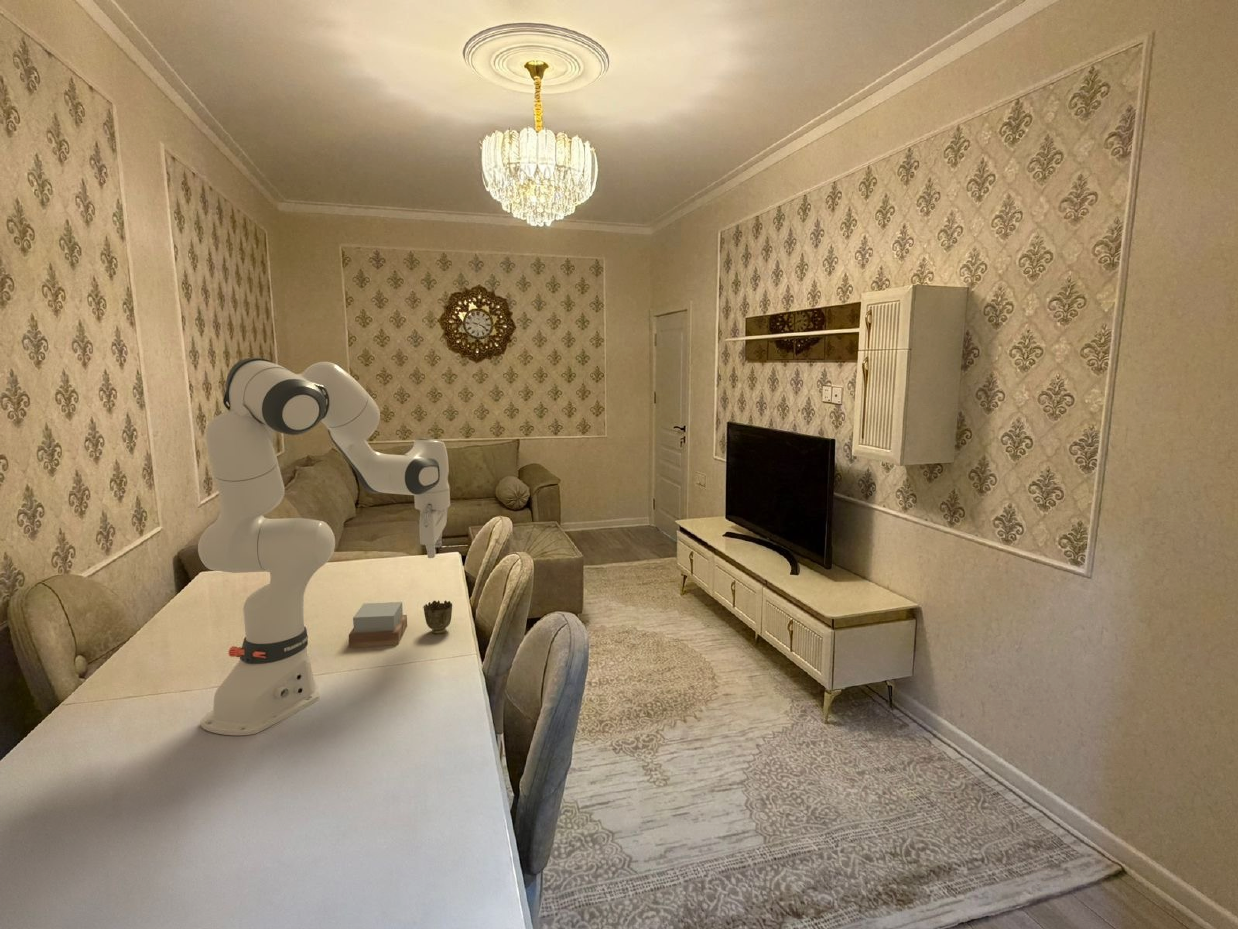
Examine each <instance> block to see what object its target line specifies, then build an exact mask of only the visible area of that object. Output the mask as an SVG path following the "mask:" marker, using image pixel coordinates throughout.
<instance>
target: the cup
mask: <svg viewBox="0 0 1238 929" xmlns="http://www.w3.org/2000/svg"><path fill="white" fill-rule="evenodd" d="M422 608H423V613H424V618H425V624H426V625H427V627H428V628H429V629H431V632H432V634H434V635H442V634H445V633H446V632H447V627H449V625H450V623H451V620H452V613H453V603H452V602H451V601H450V600H449V601H447V600H444V602H441V601H440V600H438V601H437V600H432V602H430V601H429V602H428V604H427V603H424V605H423V607H422Z"/></svg>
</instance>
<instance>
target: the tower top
mask: <svg viewBox="0 0 1238 929" xmlns="http://www.w3.org/2000/svg"><path fill="white" fill-rule="evenodd" d="M403 615H404V611H403V601H395V602H394V601H393V602H390V601H389V602H371V603H369V602H368V603H367V602H366V603H363V604H362V605H361V606H360V607H359V609H357V612H356V613H355V614H354V615H353V617H352V622H353V624H352V625H353V628H354V633H355V632H376V631H395V629H396V627H397V625H398V624H399V622H400V620H401V618H402V617H403Z"/></svg>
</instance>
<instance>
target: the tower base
mask: <svg viewBox="0 0 1238 929" xmlns="http://www.w3.org/2000/svg"><path fill="white" fill-rule="evenodd" d="M407 616H408V614H403V617H402V618H401V620H400V622H399V624H398V625H397V627H396V629H395V631H376V632H355V633H354V627H353V628H352V629H351V631H350V632H349V634H348V645H349V646H348V647H349V649H351V648H352V649H353V648H365V647H381V646H395V645H399V644H400V643H401V641H402V638H403V636H404V634H405V631H406V629H407V628H408V617H407Z"/></svg>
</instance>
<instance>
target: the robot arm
mask: <svg viewBox="0 0 1238 929" xmlns="http://www.w3.org/2000/svg"><path fill="white" fill-rule="evenodd" d="M222 402H223V405H224V407H225V408H226V409H227V410H228V411H226V412H223V413H221V414H219V415H217V416H215V417H213V419H211V421H210V422H209V423H208V424H207V426H206V430H205V431H206V434H205V436H206V449H207V453H208V460H209V464H210V467H211V471H212V474H213V478H214V481H215V483H216V484H215V485H216V487H217V491H218V496H219V501H220V512H219V514H218V515H219V516H218V518H217V519H216V520H215V521H214V522H213V523H211V524H210V525H209V526H208V527H207V528H205V529H204V531H203V532H202V534H201V535H200V538H199V540H198V543H197V544H198V546H197V552H198V556H199V560H201V563H203V565H204V566H205V567H206V569H208V570H212V571H218V572H223V573H229V574H230V573H231V574H241V573H242V574H243V573H264V572H265V573H266V572H267V573H269V574H270V580H269V583H268V584H266V585H264V586H262V587H259V588H258V589H256V590H255V591H253V592H252V593H250V595H249V596H248V597H247V598H246V599H245V602H244V603H243V608H242V610H243V621H244V622H243V623H244V633H245V636H244V639H243V640H242V645H241V646H240V647H238V646H235V645H234V646H233V645H232V646H230V647H229V649H228V650H227V651H228V653H227V654H228V656H229V657H235V658H239V660H238V662H237V663H236V665H235V666H234V667H233V669H231V671H230V673H229V674H227V676H226V677H225V678H224V680H223V681H222V683H221V684H220V685H219V686H218V687H217V689H216V691H215V693H214V695H213V697H214V698H213V709H212V710H211V711H210V712H208V713H206V715H204V716H203V717H202V718H201V719H200V724H199V725H200V727H201V728H202V729H203V730H205V731H207V732H210V733H213V734H218V735H225V736H249V735H256V734H258V733H260V732H262V731H265V730H266V729H268V728H269V727H272V726H273V725H275V724H277V723H279V722H281V721H283V720H285V719H287V718H288V717H290V716H292V715H294V714H296V713H298V712H299V711H301V710H303V709H305V708H307V707H309V706H311V705H312V704H314V703H316V702H318V701H319V700H320V695H319V692H318V685H317V683H316V681H315V678H314V674H313V673H314V672H313V668H312V663H311V661H310V658H309V654H308V650H307V646H308V644H309V640H308V638H309V636H308V630H307V627H306V626H305V616H304V614H305V611H304V610H305V609H304V605H305V604H304V602H305V600H304V599H305V593H306V589H307V586H308V584H309V582H310V581H311V578H312V577H313V576H314V575H315V573H317V572H318V570H320V569H321V568H322V567H324V566H325V565H326V564H327V563H328V562H329V561H330V559H331V558H332V556H333V554H334V552H335V547H336V539H335V538H336V537H335V534H334V531H333V530H332V528H331V526H330V525H328V523H326V521H324V520H317V519H314V518H305V517H304V518H303V517H292V518H291V517H290V518H288V517H287V518H267V517H264V516H265V515H266V514H268V513H270V512H272V511H273V510H274V509H275V508H277V507H278V506H279V505H280V504H281V502H282V501H283V499H284V497H285V484H284V481H283V476H282V472H281V468H280V466H279V465H280V464H279V460H278V457H277V454H276V450H275V448H274V436H275V432H277V433H282V434H284V435H285V434H286V435H291V436H298V435H302V434H303V435H304V434H305V433H308V432H309V431H311V430H313V429H314V428H315V427H316V426H317V425H318V424H319V423H322V424H323V425H324V426H325V428H327V433H328V436H329V438H330V440H331V442H332V443H333V445H334V446H335V447H336V449H337V450H338V451H339V452H340V453H341V455H342V456H343V457H344V458H345V460H346V461H347V463H349V465H350V466H351V467H352V469H353V470H354V472H355V474H356V476H357V479H358V481H359V483H360V485H361V486H362V487H363V489H364V490H365V491H367V492H368V493H370V494H392V495H393V494H395V495H406V496H407V495H408V496H414V497H413V498H414V508H415V509H416V510H419V512H420V515H419V523H418V524H419V525H418V526H419V544H420V545H423V546H425V549H426V553H427V554H426V555H427V558H428V559H434V558H435V557H436V554H437V553H436V548H440V547H442V537H443V531H444V529H445V527H446V526H447V520H448V508H449V507H451V496H450V495H451V493H450V492H451V491H450V484H449V481H448V477H449V472H450V467H449V457H448V456H449V455H448V449H447V446H446V444H445V442H444V441H442V440H440V439H436V438H434V439H433V438H417V439H415V440H414V441H413V447H412V448H411V449H410V450H409V451H408V452H406V453H405V454H390V453H389V454H388V453H384V452H383V453H382V452H379V451H375V450H373V448H372V447H371V446H370V443H368V442H367V440H368V439H369V438H370V437H372V435H373V434H374V433H375V432H376V430H377V428H378V426H379V423H380V419H381V412H380V409H379V406H378V404H377V403H376V400H374V399H373V397H372V396H371V395H370V394H369V393H368V391H366V389H365V388H363V386H362V385H361V384H360V382H358V380H356V379H355V378H354V377H353V376H352V375H351V374H350V373H349V372H347V371H346V370H344V369H343V368H342V367H340V366H339V365H338V364H335V363H334V362H330V361H319V362H316V363H313V364H311V365H310V366H308V367H307V368H305V370H303V372H300V373H295V372H293V371H292V370H290V369H288V368H286V367H284V366H282V365H280V364H277V363H275V362H273V361H272V360H269V359H266V358H262V357H248V358H244V359H241V360H239V361H238V362H236V363H235V364H233V365H232V366H231V368H230V369H229V371H228V373H227V376H226V381H225V392H224V395H223V399H222Z"/></svg>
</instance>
